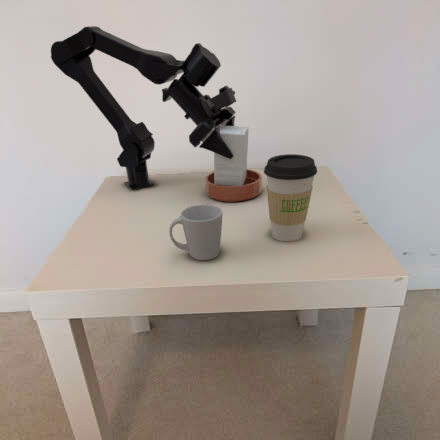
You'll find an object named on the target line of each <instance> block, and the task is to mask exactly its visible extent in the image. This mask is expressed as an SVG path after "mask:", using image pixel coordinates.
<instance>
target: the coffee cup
mask: <svg viewBox="0 0 440 440" xmlns="http://www.w3.org/2000/svg"><path fill="white" fill-rule="evenodd" d="M263 173H264V175H266V176H265V177H266V195H267V205H268V215H269V220H270V230H271V236H272V238H273V239H275V240H278V241H280V242H295V241H298V240H299V239H301V238H302V236H303V231H304V227H305V222H306V221H307V216H308V212H309V206H310V201H311V196H312V192H313V183H314V177H315V176H316V174H317V173H318V167H317V165H316V163H315V160H314V158H312V157H311V156H308V155H303V154H295V153H294V154H293V153H292V154H291V153H289V154H279V155H275V156H272V157H269V158H268V160H267V162H266V164H265V166H264V170H263Z"/></svg>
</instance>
